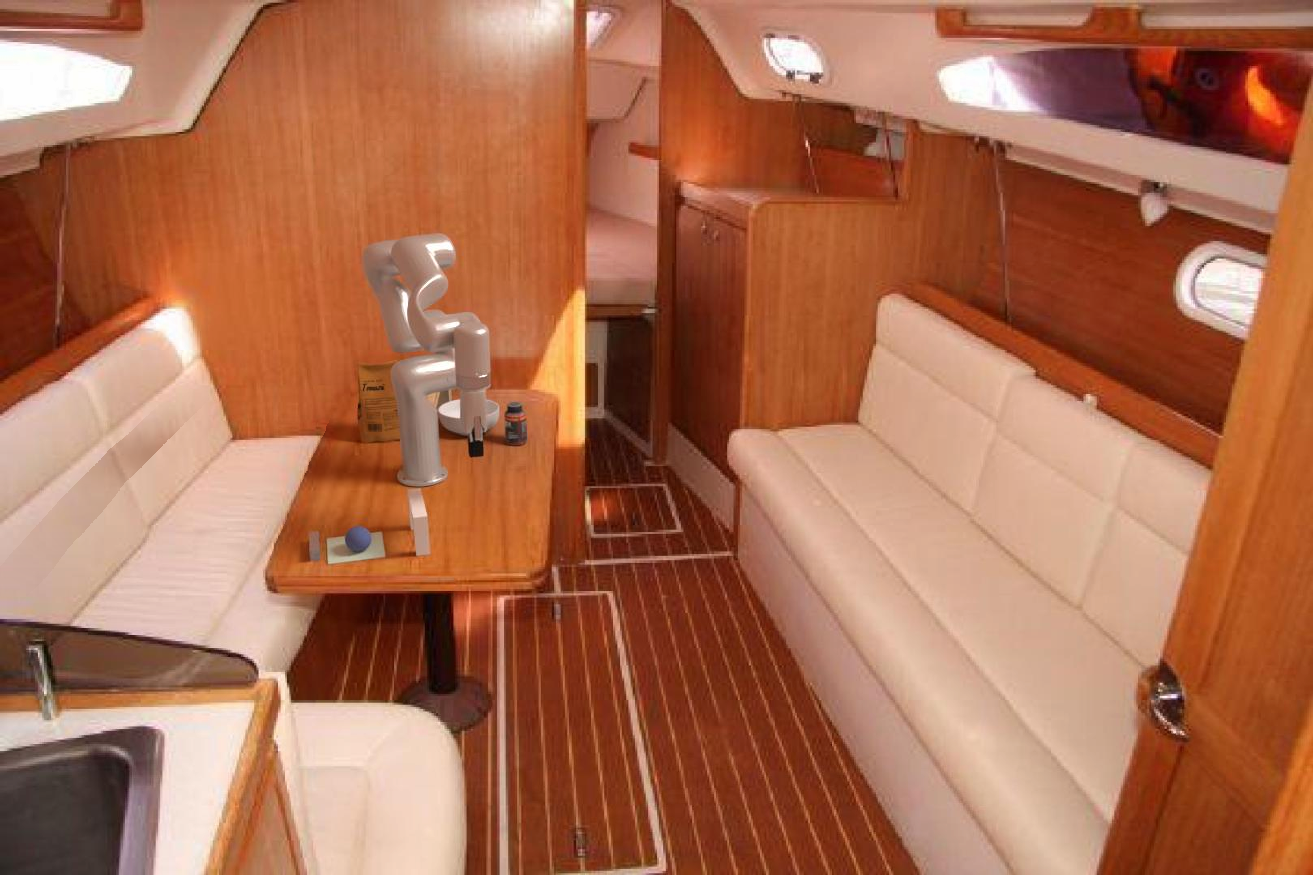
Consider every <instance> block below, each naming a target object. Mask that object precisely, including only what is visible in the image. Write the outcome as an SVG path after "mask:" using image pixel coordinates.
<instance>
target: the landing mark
mask: <svg viewBox="0 0 1313 875" xmlns="http://www.w3.org/2000/svg"><path fill="white" fill-rule="evenodd" d="M370 534H371V544H370V545H369V547H368V548H367V549H366V550H364V551H361V552H355V551H352V550H350V549H349V548H348V547H347V545H346V543H345V536H346V535H344V536H342V535H341V536H336V537H327V538H326V551H327V565H328V566H329V565H336V564H337V565H338V564H344V563H352V562H360V561H367V560H375V559H376V560H377V559H381V558H382V559H383V558H386V552H385V545H384V539H383V538H384V537H383V531H376V532H370Z"/></svg>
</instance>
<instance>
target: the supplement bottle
mask: <svg viewBox="0 0 1313 875" xmlns="http://www.w3.org/2000/svg"><path fill="white" fill-rule="evenodd" d="M506 406H507V410H506V411H504V414H503V415H504V435H505V443H506V444H507V445H509V446H517V447H518V446H522V445H525V444H526V443H527V442H528V428H527V427H528V425H527V413H526V411H525V410H524V409H523V403H522V402H520V401H511V402H510V401H509V402H508V403H507V405H506Z"/></svg>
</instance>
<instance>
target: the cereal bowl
mask: <svg viewBox="0 0 1313 875" xmlns="http://www.w3.org/2000/svg"><path fill="white" fill-rule="evenodd" d="M486 404H487V431H488V430H490V429H491V428H493V427H494V426H495V425H496V424H497V422H498V420H499V418H500V405H499V404H498V403H497V402H496V401H494V400H491V399H487V398H486ZM438 420H439V421H440V424H441V425H442V426H443V428H445V429H446V430H448V431H450V432H451V433H456V434H458V435H460V436H464V437H466V436H467V437H469V436H468V434H466V433H465V432H464V430H463V427H462V424H461V420H460V398H459V399H454V400H453V399H452V401H450V402H447V403H445V404H443V405H441V406H440V407H439V409H438ZM483 433H484V431H483Z"/></svg>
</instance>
